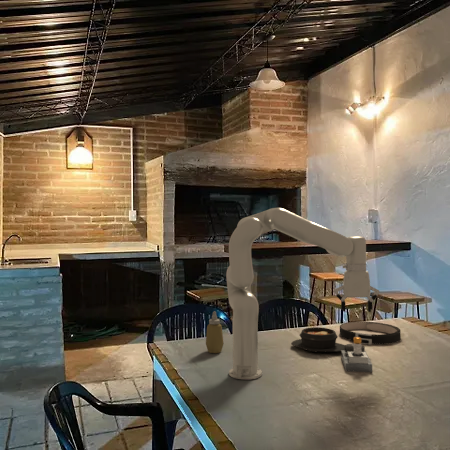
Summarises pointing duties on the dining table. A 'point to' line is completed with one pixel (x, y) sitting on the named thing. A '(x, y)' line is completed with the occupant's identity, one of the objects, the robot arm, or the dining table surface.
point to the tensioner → (355, 359)
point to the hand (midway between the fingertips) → (356, 311)
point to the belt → (371, 338)
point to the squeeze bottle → (214, 335)
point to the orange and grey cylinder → (357, 346)
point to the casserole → (318, 340)
